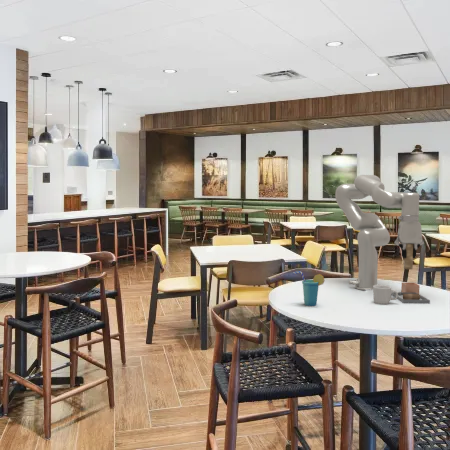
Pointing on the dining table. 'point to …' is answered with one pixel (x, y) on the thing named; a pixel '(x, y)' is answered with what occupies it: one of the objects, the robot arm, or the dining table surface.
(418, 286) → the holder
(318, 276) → the cup
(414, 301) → the tray
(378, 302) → the cup
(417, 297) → the walnut dowel
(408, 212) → the robot arm
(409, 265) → the oak dowel
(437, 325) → the dining table surface
